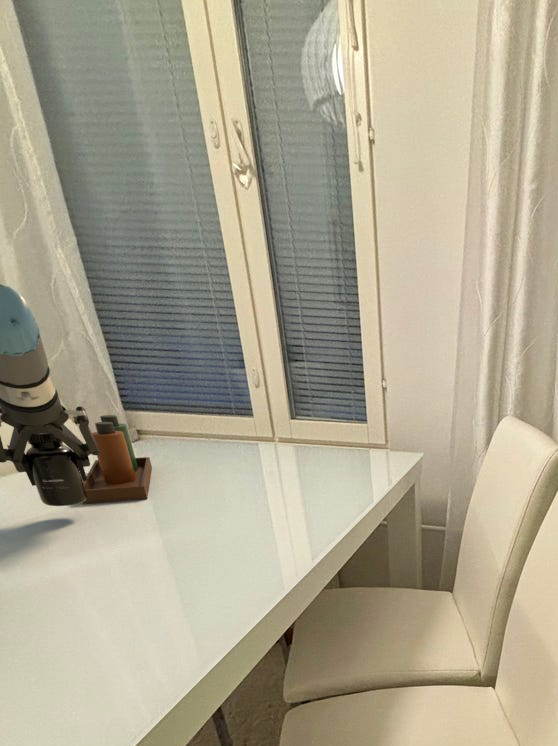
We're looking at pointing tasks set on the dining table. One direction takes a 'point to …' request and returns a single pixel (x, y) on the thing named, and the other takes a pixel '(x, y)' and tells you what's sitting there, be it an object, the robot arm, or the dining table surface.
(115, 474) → the row bottles
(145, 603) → the dining table surface
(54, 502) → the supplement bottle
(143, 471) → the tray
